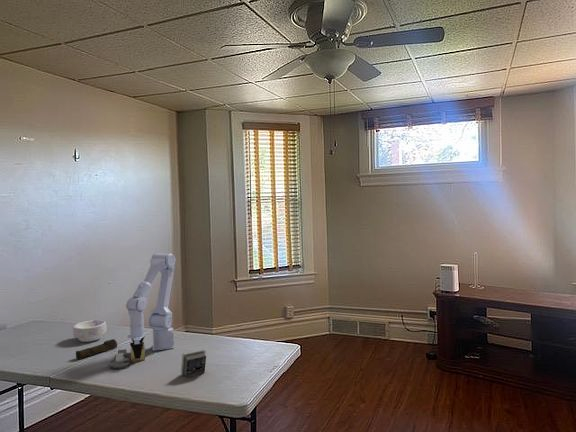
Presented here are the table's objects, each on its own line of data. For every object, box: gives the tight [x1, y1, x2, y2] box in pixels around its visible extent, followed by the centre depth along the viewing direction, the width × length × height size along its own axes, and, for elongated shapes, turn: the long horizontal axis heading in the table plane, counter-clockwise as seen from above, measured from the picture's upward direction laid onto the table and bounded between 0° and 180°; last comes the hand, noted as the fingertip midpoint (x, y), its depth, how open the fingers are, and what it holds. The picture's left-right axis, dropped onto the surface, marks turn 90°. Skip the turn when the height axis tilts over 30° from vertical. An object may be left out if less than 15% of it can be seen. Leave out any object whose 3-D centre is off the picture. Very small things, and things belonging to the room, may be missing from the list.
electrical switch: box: [180, 348, 207, 378], centre depth 170 cm, size 9×5×9 cm, turn 122°
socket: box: [130, 344, 146, 363], centre depth 189 cm, size 6×6×6 cm
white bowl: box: [72, 319, 107, 343], centre depth 219 cm, size 15×15×8 cm
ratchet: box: [109, 348, 131, 371], centre depth 187 cm, size 20×8×5 cm, turn 17°
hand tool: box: [75, 338, 118, 361], centre depth 197 cm, size 19×4×5 cm, turn 141°
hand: (138, 355), depth 189 cm, fingers open, 7 cm apart
